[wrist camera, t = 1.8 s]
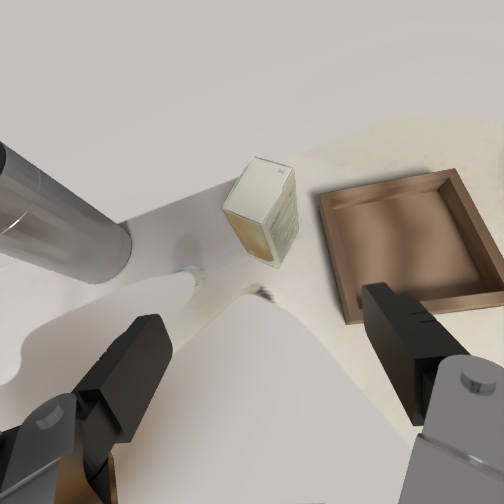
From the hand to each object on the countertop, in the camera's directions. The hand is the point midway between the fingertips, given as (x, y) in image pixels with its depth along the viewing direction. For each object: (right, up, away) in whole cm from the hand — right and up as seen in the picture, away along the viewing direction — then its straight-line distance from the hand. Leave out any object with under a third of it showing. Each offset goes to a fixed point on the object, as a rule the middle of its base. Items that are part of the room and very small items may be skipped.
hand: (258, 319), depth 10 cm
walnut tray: (+17, +3, +19) cm, 26 cm away
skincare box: (+3, +4, +23) cm, 24 cm away
